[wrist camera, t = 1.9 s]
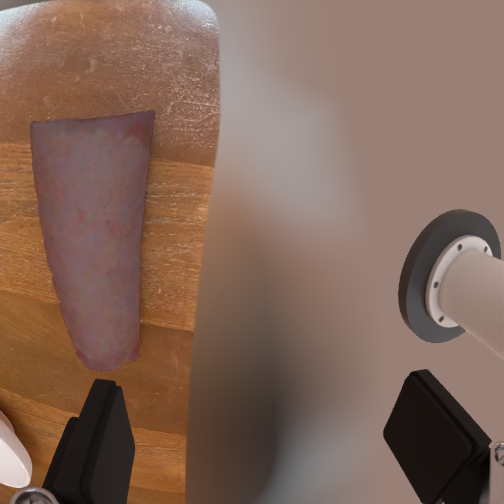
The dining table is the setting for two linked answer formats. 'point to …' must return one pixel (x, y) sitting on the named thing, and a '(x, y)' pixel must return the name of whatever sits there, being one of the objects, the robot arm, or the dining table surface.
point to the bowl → (13, 457)
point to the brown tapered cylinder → (95, 227)
